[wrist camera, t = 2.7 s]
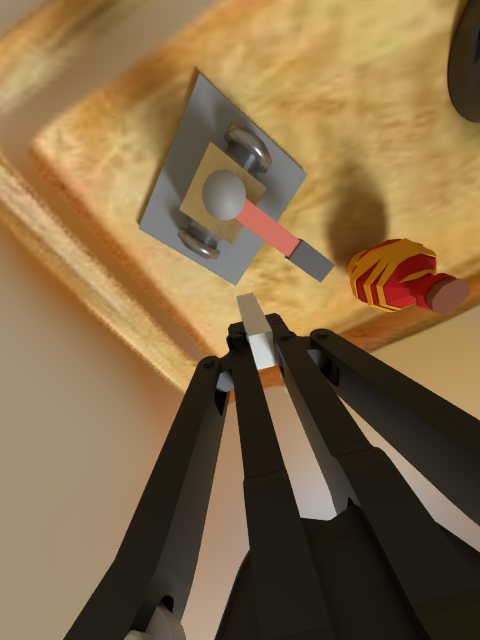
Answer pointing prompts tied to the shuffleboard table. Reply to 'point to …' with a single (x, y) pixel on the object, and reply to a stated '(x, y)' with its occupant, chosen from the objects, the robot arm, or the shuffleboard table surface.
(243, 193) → the lever
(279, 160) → the slate board
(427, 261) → the potion bottle
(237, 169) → the valve body
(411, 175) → the shuffleboard table surface
